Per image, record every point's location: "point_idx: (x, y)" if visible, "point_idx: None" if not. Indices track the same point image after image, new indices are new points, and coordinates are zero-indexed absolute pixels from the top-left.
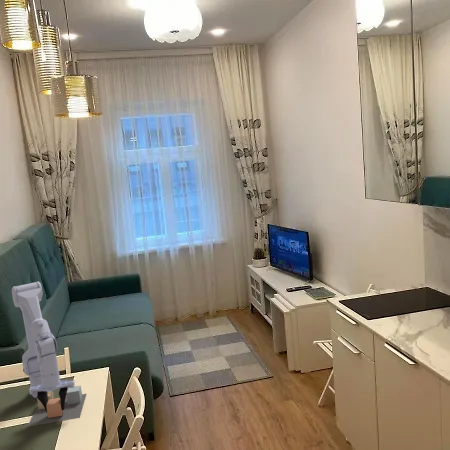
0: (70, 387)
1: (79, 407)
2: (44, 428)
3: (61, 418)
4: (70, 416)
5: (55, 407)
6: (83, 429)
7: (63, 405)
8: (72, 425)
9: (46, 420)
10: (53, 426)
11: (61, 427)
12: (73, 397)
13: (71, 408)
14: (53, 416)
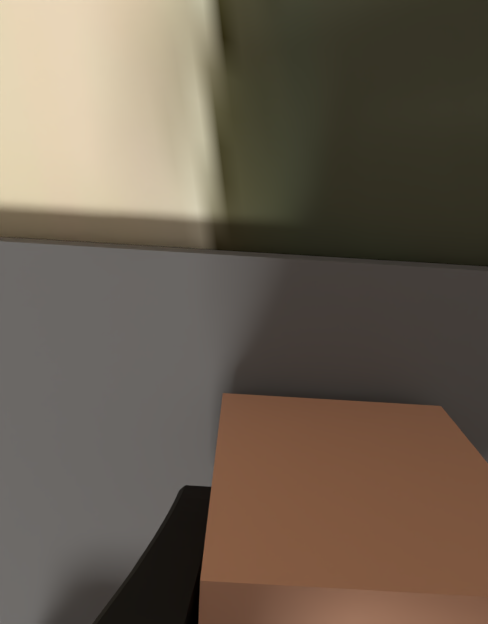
0: None
1: (5, 549)
2: (482, 177)
3: (226, 335)
4: (85, 340)
5: (329, 511)
6: None
7: (152, 541)
8: (18, 77)
9: (462, 367)
10: (340, 183)
11: (202, 86)
12: None
13: (120, 564)
14: (358, 405)
